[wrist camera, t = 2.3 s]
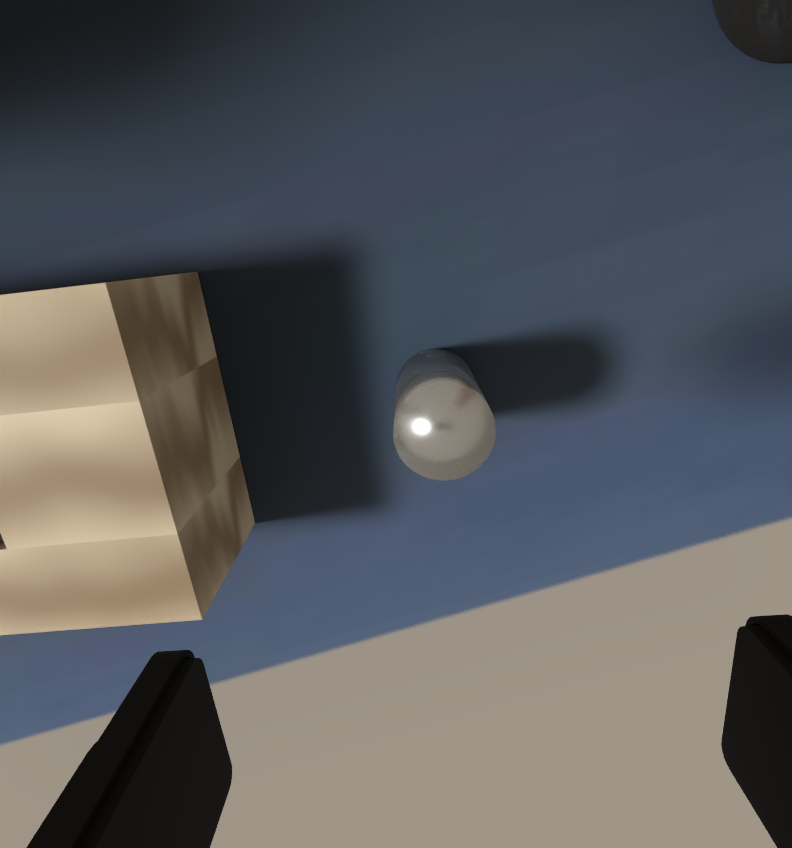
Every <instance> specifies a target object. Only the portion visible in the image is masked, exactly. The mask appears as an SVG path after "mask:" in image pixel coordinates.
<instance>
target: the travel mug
mask: <svg viewBox="0 0 792 848" xmlns="http://www.w3.org/2000/svg"><path fill="white" fill-rule="evenodd" d="M713 6H714V10H715V13H716V17H717V19H718V21H719V24H720V26H721V28H722V30H723V31H724V33H725V35H726V36H727V38H728V39H729V40H730V41H731V42H732V43H733V45H734V46H736V47H737V48H738V49H739V50H740V51H742V52H743V53H745V54H746V55H748V56H750V57H752V58H755V59H757V60H760V61H764V62H769V63H790V62H792V0H713Z"/></svg>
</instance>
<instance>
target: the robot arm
mask: <svg viewBox="0 0 792 848" xmlns="http://www.w3.org/2000/svg"><path fill="white" fill-rule="evenodd" d="M722 751H723V754H724V758H725V761H726V763H727V765H728V767H729V769H730V771H731V772H732V774H733V776H734V777H735V779H736V781H737V782H738V784H739V785H740V787H741V789H742V790H743V792H744V794H745V795H746V797H747V798H748V800H749V802H750V803H751V805H752V807H753V808H754V810H755V812H756V813H757V815H758V816H759V818H760V820H761V821H762V823H763V825H764V826H765V828H766V830H767V831H768V833H769V834H770V836H771V838H772V839H773V841H774V843H775V844H776V846H777V848H792V616H790V615H771V616H756V617H750V618H749V619H748V620H747V622H746V625H745V626H743V627H740V628H739V629H738V632H737V638H736V645H735V652H734V659H733V666H732V673H731V680H730V687H729V693H728V700H727V707H726V714H725V721H724V728H723V735H722ZM231 779H232V765H231V761H230V757H229V753H228V750H227V746H226V743H225V739H224V735H223V732H222V728H221V725H220V721H219V717H218V714H217V710H216V707H215V703H214V700H213V696H212V692H211V689H210V685H209V682H208V678H207V675H206V671H205V667H204V664H203V661H202V660H201V659H200V658H195V657H194V655H193V653H192V652H191V651H190V650H179V651H162V652H157V653H155V654H154V655H153V656H152V657H151V658H150V660H149V662H148V663H147V665H146V666H145V668H144V669H143V671H142V672H141V674H140V676H139V677H138V679H137V680H136V682H135V683H134V685H133V687H132V688H131V690H130V691H129V693H128V694H127V696H126V698H125V699H124V701H123V702H122V704H121V705H120V707H119V709H118V710H117V712H116V713H115V715H114V716H113V718H112V720H111V721H110V723H109V724H108V726H107V728H106V729H105V731H104V732H103V734H102V735H101V737H100V738H99V740H98V741H97V742H96V743H95V744H94V745H93V747H92V748H91V749H90V750H89V752H88V753H87V754H86V756H85V758H84V759H83V761H82V762H81V764H80V765H79V767H78V768H77V770H76V772H75V773H74V775H73V776H72V778H71V779H70V781H69V782H68V784H67V786H66V787H65V789H64V790H63V792H62V793H61V795H60V796H59V798H58V800H57V801H56V803H55V804H54V806H53V807H52V809H51V810H50V812H49V814H48V815H47V817H46V818H45V820H44V821H43V823H42V825H41V826H40V828H39V829H38V831H37V832H36V834H35V835H34V837H33V839H32V840H31V842H30V843H29V845H28V847H27V848H210V845H211V842H212V839H213V836H214V834H215V831H216V828H217V824H218V822H219V818H220V816H221V813H222V810H223V807H224V804H225V801H226V798H227V795H228V792H229V788H230V785H231Z"/></svg>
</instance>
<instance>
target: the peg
mask: <svg viewBox="0 0 792 848" xmlns="http://www.w3.org/2000/svg"><path fill="white" fill-rule="evenodd" d="M495 437H496V425H495V420H494V416H493V414H492V412H491V409H490V407H489V406H488V404H487V402H486V400H485V398H484V396H483V394H482V392H481V390H480V388H479V386H478V384H477V382H476V380H475V378H474V376H473V374H472V372H471V370H470V368H469V367H468V365H467V364H466V362H465V361H464V360H463V359H462V358H461V357H459V356H458V355H456V354H455V353H453V352H450V351H447V350H443V349H429V350H425V351H422V352H419V353H417V354H416V355H414V356H412V357H411V358H410V359H409V360H408V361H407V362H406V363H405V364H404V366H403V367H402V369H401V371H400V373H399V376H398V380H397V390H396V402H395V415H394V428H393V439H394V444H395V447H396V450H397V452H398V454H399V456H400V458H401V459H402V461H403V462H404V463H405V464H406V465H407V466H408V467H409V468H410V469H411V470H413V471H414V472H416V473H417V474H419V475H421V476H423V477H426V478H430V479H434V480H452V479H457V478H461V477H463V476H466V475H468V474H470V473H472V472H473V471H475V470H476V469H477V468H479V467H480V466H481V465H482V464H483V463H484V461H485V460H486V459H487V458H488V456H489V454H490V453H491V451H492V448H493V446H494V442H495Z"/></svg>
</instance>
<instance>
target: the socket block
mask: <svg viewBox="0 0 792 848" xmlns="http://www.w3.org/2000/svg"><path fill="white" fill-rule="evenodd" d="M254 525H255V521H254V516H253V512H252V508H251V503H250V499H249V495H248V490H247V486H246V482H245V477H244V473H243V468H242V464H241V460H240V455H239V451H238V447H237V442H236V438H235V434H234V429H233V425H232V420H231V416H230V412H229V407H228V403H227V399H226V394H225V390H224V385H223V381H222V377H221V372H220V368H219V364H218V359H217V355H216V351H215V346H214V342H213V337H212V333H211V329H210V324H209V320H208V316H207V311H206V307H205V302H204V298H203V294H202V289H201V285H200V281H199V276H198V272H190V273H182V274H173V275H165V276H156V277H148V278H139V279H131V280H122V281H114V282H105V283H97V284H88V285H80V286H71V287H63V288H54V289H46V290H37V291H29V292H20V293H12V294H3V295H0V534H1V536H2V538H3V540H2V541H0V635H10V634H23V633H35V632H48V631H61V630H74V629H87V628H100V627H113V626H126V625H139V624H152V623H164V622H177V621H190V620H202V619H203V617H204V615H205V613H206V612H207V610H208V608H209V606H210V604H211V603H212V601H213V599H214V597H215V595H216V594H217V592H218V590H219V588H220V586H221V584H222V583H223V581H224V579H225V577H226V575H227V574H228V572H229V570H230V568H231V566H232V565H233V563H234V561H235V559H236V557H237V555H238V554H239V552H240V550H241V548H242V546H243V545H244V543H245V541H246V539H247V537H248V536H249V534H250V532H251V530H252V528H253V526H254Z"/></svg>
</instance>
